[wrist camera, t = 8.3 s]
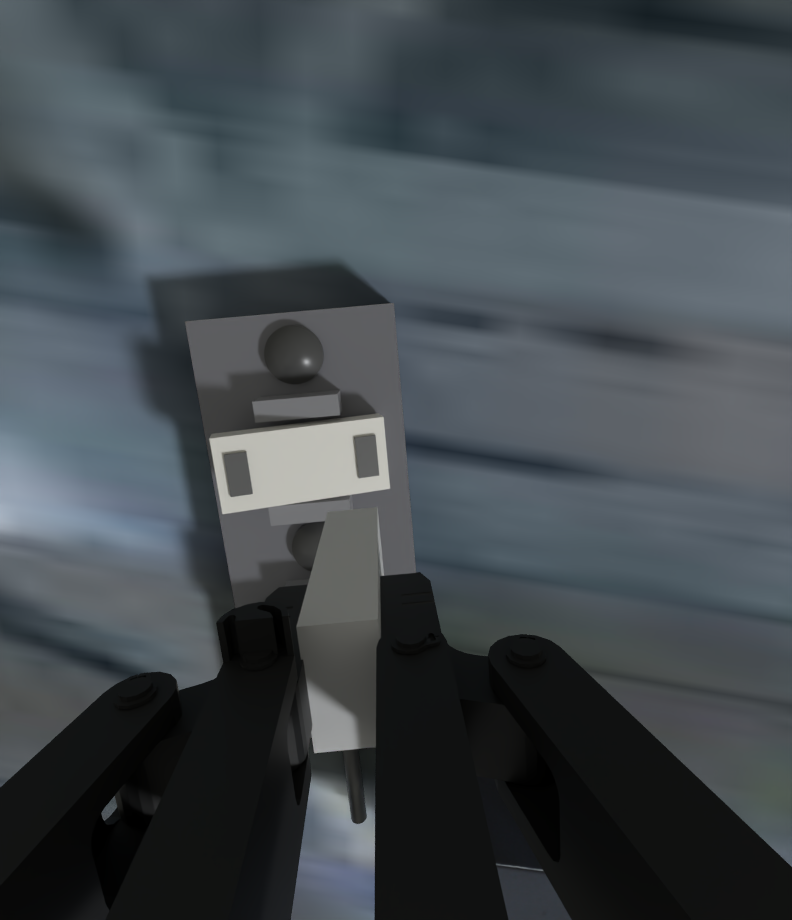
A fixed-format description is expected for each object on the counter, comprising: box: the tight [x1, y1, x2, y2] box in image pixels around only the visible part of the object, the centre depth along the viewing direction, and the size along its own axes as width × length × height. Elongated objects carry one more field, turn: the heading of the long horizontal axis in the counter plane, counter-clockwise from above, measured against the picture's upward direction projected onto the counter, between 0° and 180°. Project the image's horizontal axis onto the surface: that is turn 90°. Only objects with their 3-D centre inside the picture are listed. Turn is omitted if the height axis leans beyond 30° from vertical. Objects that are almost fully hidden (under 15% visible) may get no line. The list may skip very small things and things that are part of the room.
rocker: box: [209, 413, 390, 514], centre depth 26 cm, size 8×4×1 cm, turn 95°
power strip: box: [185, 303, 416, 824], centre depth 31 cm, size 10×32×5 cm, turn 5°
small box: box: [477, 776, 571, 920], centre depth 32 cm, size 11×6×10 cm, turn 171°
